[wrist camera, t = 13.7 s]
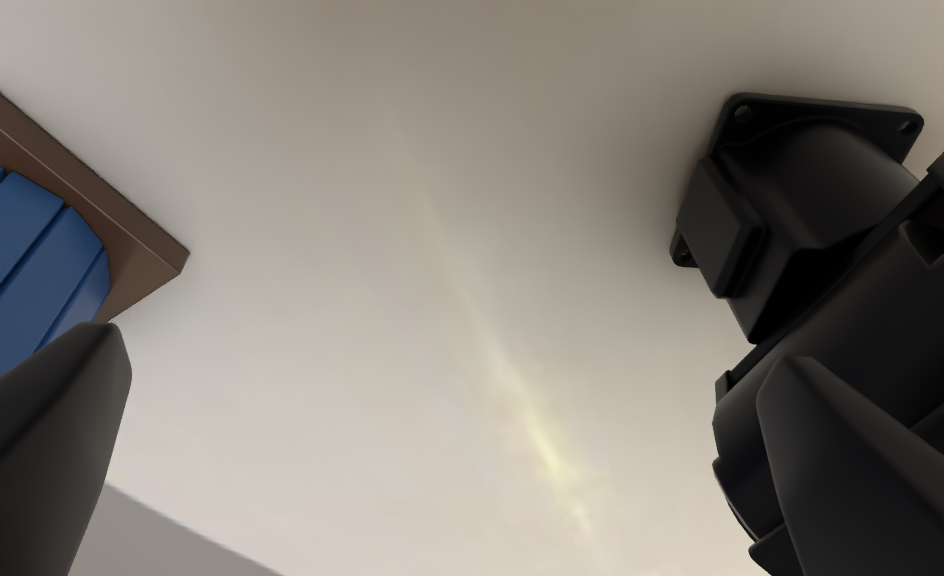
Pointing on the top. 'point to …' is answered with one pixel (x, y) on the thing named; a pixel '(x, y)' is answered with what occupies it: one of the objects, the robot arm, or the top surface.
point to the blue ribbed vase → (44, 269)
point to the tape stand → (93, 212)
